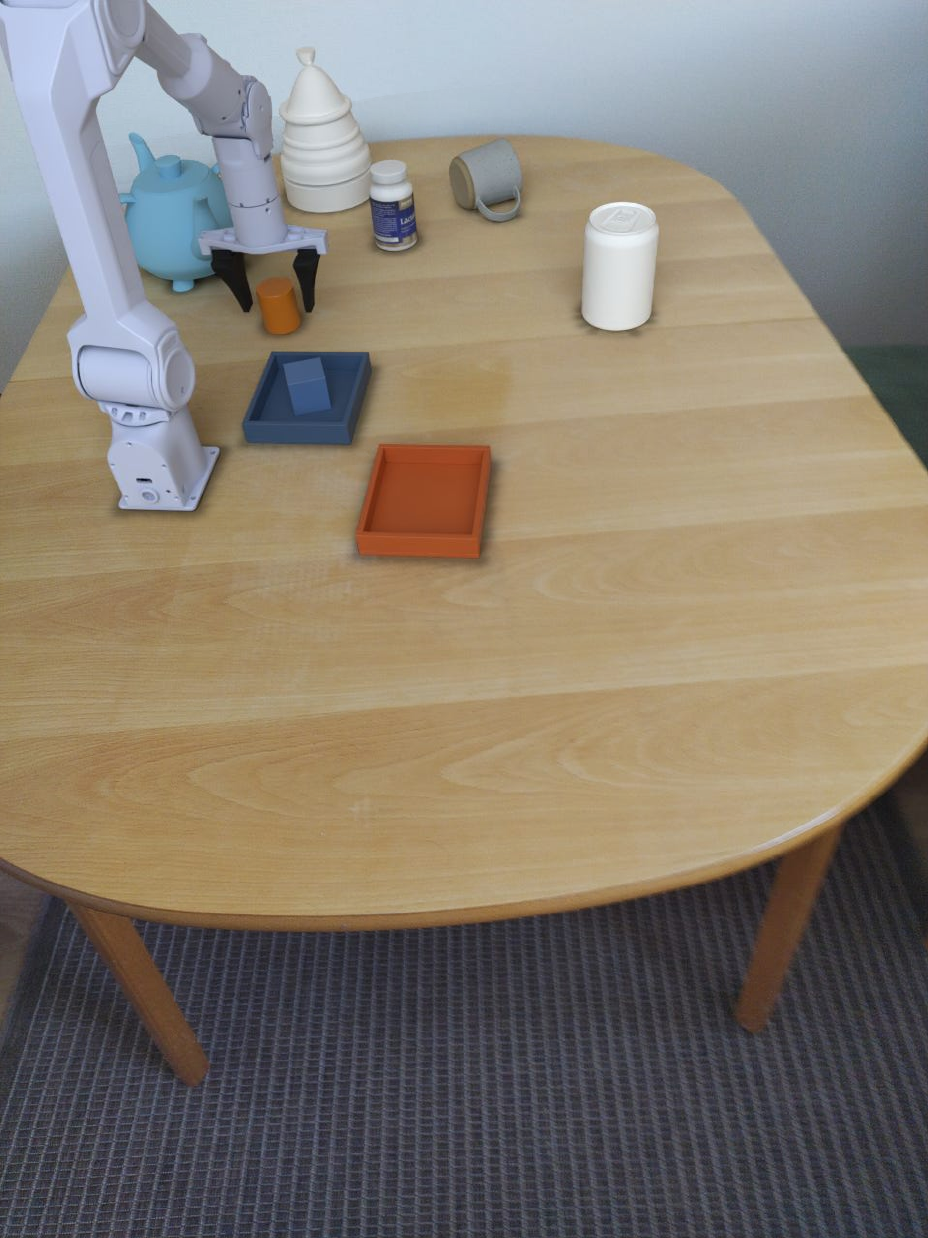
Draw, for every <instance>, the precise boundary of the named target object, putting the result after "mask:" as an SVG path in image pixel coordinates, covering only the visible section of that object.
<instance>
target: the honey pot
mask: <svg viewBox="0 0 928 1238" xmlns="http://www.w3.org/2000/svg"><path fill="white" fill-rule="evenodd" d="M295 56H296V58H297V59H298V62H299V63H300V64H301V65H302V66H304V67H303V68H302V69H301V70H300V71H299V72H298V74H297V76H296V78H295V80H294V82H293V85H292V88H291V91H290V95H289V97H288V98H287V99H286V100H284V101H283V102H282V103H281V104H280V105H279V108H278V114H279V117H280V118H281V120H283V121H284V130H283V131H282V143H281V149H282V152H281V155H280V161H279V162H280V168H281V174H282V178H283V183H284V188H285V194H286V198H287V202H288V203H289V204H290V205H291V206H293V207H294V208H296V209H298V210H301V211H305V212H309V213H335V212H341V211H345V210H348V209H352V208H354V207H358V206H359V205H361V204H363V203H364V202H366V201H367V200H370V197H369V189H370V186H371V185H372V183H373V181H372V179H371V175H370V167H371V166H372V165H373V163H372V157H371V156H372V155H371V150H370V147H369V144H368V143H367V142H366V141H365V138H364V135H363V133H362V131H361V129H360V125H359V122H357V120H356V119H355V117H354V115H353V112H352V111H351V109H352V107H353V103H352V100H351V98H350V97H349V96H347V95H346V94H344V93H342V92H341V91H340V89H339V88H338V86H337V85H336V83H335V82H334V80H332V78H331V77H330V76H329V75H328V73H327V72H325V71H324V70H323V69H322V68H321V67H319V66H317V65H314V62H315V59H316V49H315V47H313V46H303V47H299V48H297V49H295Z"/></svg>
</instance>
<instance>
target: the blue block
mask: <svg viewBox="0 0 928 1238" xmlns="http://www.w3.org/2000/svg"><path fill="white" fill-rule="evenodd" d="M283 366H284V371H285V375H286V380H287V385H288V389H289V393H290V397H291V401H292V406H293V410H294V414H295V416H297V415H302V414H307V413H312V412H317V411H323V410H328V409H331V403H330V398H329V394H328V389H327V384H326V379H325V375H324V371H323V367H322V363H321V360H320V357H318V358H313V359H308V360H302V361H297V362H292V363H287V364H283Z"/></svg>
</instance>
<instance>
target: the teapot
mask: <svg viewBox="0 0 928 1238" xmlns="http://www.w3.org/2000/svg"><path fill="white" fill-rule="evenodd" d="M128 139H129V142H130V143H131V145H132V148H133V149H134V152H135V154H136V159H137V162H138V168H139V173H137V175H136V176H135V178H133V179H134V180H133V181H132V184H131V186H130V190H129V192H121V193H118V195H119V198H120V202H121V205H124V204H126V206H125V212H124V216H125V220H126V224H127V227H128V231H129V235H130V238H131V242H132V246H133V249H134V253H135V256H136V260H137V264H138V267H140V268H142V269H143V270H144V271H147V272H148V273H150V274H151V275H153V276H155V277H157V278H160V279H164V280H169V281H170V280H171V281H172V290H173V291H174V292H179V293H182V292H187V291H190V290H192V289H194V287H195V280H197V279H202V278H206V277H210V276H213V275H217V274H216V273H215V272H214V271H213V270H212V268H211V261H212V260H213V259H212V254H211V255H202V252H201V248H200V245H199V241H198V239H199V237H200V235H201V234H202V232H203V231H212V230H220V229H225V228H231V227H234V225H233V221H232V218H231V214H230V210H229V206H228V202H227V198H226V194H225V190H224V186H223V182H222V178H221V176H220V175H221V174H220V170H219V166H218V163H217V162H216V163H215V164H213V165H212V166H211V167H209V166H208V165H207V164H205V163H204V162H201V161H199V160H195V159H182V158H181V157H180V156H179V155H174V154H166V155H163V156H160V157H158V158H155V156H154V155H153V153H152V151H151V149H150V148H149V145H148V144H147V143H146V141H145V139H144V138H143V137H142V136H141V135H140V134H139V133H136V132H130V133H129V134H128Z"/></svg>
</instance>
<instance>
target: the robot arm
mask: <svg viewBox="0 0 928 1238" xmlns="http://www.w3.org/2000/svg"><path fill="white" fill-rule="evenodd" d="M0 48H1V51H2V56H3V58H4V60H5V64H6V67H7V70H8V73H9V77H10V79H11V82H12V84H13V90H14V91H13V92H14V95H15V99H16V102H17V105H18V108H19V111H20V115H21V118H22V121H23V125H24V127H25V130H26V133H27V136H28V140H29V142H30V146H31V149H32V152H33V155H34V158H35V160H36V164H37V167H38V170H39V173H40V176H41V179H42V182H43V185H44V189H45V191H46V195H47V198H48V200H49V204H50V208H51V210H52V213H53V216H54V220H55V222H56V226H57V228H58V232H59V235H60V238H61V241H62V244H63V247H64V250H65V253H66V256H67V259H68V263H69V265H70V269H71V271H72V275H73V278H74V281H75V283H76V288H77V290H78V293H79V296H80V299H81V302H82V305H83V307H84V312H83V313H82V314H81V315H80V316H79V317H78V318H76V320H75V321H74V322H73V323H72V325H71V326H70V328H69V330H68V331H67V332H66V339H67V343H68V346H69V350H70V354H71V367H70V368H71V375H72V378H73V381H74V384H75V387H76V389H77V391H78V393H80V395H81V396H82V397H83V398H85V399H86V400H89V401H91V402H92V401H93V402H96V403H97V405H98V407H99V409H100V412H101V413H105V414H107V415H108V416H109V419H110V422H111V423H110V424H111V431H112V434H111V441H110V444H109V447H108V450H107V453H106V459H107V463H108V464H107V465H108V467H109V469H110V471H111V473H112V475H113V477H114V480H115V482H116V484H117V487H118V489H119V491H120V493H121V497H120V499H119V501H118V504H117V505H118V507H119V509H121V510H143V511H144V510H147V511H181V512H183V511H185V512H187V511H188V512H191V511H194V510H196V509H197V507H198V505H199V502H200V501H201V498H202V495H203V493H204V492H205V488H206V486H207V484H208V481H209V479H210V477H211V475H212V473H213V470H214V467H215V465H216V462H217V460H218V458H219V456H220V453H221V450H220V448H219V446H202V444H201V441H200V437H199V435H198V432H197V429H196V426H195V423H194V421H193V417H192V413H191V412H190V411H191V410H190V408H189V405H188V403H189V401H190V399H191V398H192V396H193V394H194V391H195V386H196V376H197V375H196V367H195V361H194V360H193V359H194V358H193V357H192V354H191V353H190V350H189V349H188V347H186V345H185V344H184V342H183V340H182V337H181V335H180V331H179V327H178V324H177V323H176V322H175V321H174V320H172V318H171V317H169V316H168V315H167V314H166V313H164V312H163V311H161V310H160V309H159V308H158V307H156V306H155V305H153V304H152V302H150V301H149V300H148V297H147V294H146V290H145V286H144V282H143V278H142V275H141V272H140V268H139V267H140V266H139V265H138V264H137V260H136V256H135V253H134V249H133V246H132V242H131V238H130V235H129V231H128V227H127V224H126V220H125V212H124V210H123V206H122V204H121V202H120V198H119V195H118V194H119V192H118V188H117V184H116V180H115V176H114V173H113V169H112V166H111V162H110V158H109V155H108V151H107V147H106V144H105V140H104V137H103V133H102V130H101V126H100V122H99V118H98V115H97V107H98V104H99V102H100V100H101V97H102V96H105V95H106V94H108V93H109V92H111V91H113V90H115V88H116V86H117V85H118V84H119V82H120V80H121V78H122V77H123V75H124V73H125V72H126V70H127V69H128V67H129V65H130V64H131V63H132V61H133V60H134V58H137V59H138V60H139V61H141V62H143V63H144V64H146V65H147V66H149V67H150V68H152V69H154V70H155V71H156V77H157V81H158V83H159V85H160V87H161V89H162V90H163V92H164V93H165V94H166V95H168V96H169V97H170V98H172V99H173V100H174V101H176V102H177V103H178V104H180V105H181V106H182V107H184V108H185V109H186V110H187V112H188V113H189V114H190V115H191V116H192V119H193V121H194V125H195V127H196V130H197V131H198V132H199V134H200V135H204V136H206V137H209V136H210V137H211V143H212V147H213V150H214V154H215V159H216V163H218V166H219V170H220V174H219V175H220V178H221V179H222V182H223V186H224V190H225V194H226V198H227V202H228V206H229V210H230V214H231V218H232V221H233V225H234V227H231V228H225V229H220V230H212V231H203V232H202V234H201V235H200V237H199V239H198V241H199V245H200V248H201V252H202V255H211V254H212V259H213V260H212V261H211V268H212V270H213V271H214V272H215V273H216V274H215V275H217V276H218V277H219V278H220V279H221V280H222V281H223V282H224V284H225V285H226V286H227V287H228V289H229V290H230V291H231V293H232V294H233V296H234V297H235V300H237V302H238V305H239V306H240V308H241V310H242V313H244V314H245V313H247V314H249V313H250V312H251V309H252V308H253V305H254V300H253V293H252V291H251V287H250V283H249V280H248V276H247V271H246V265H245V258H244V257H245V256H244V254H248V255H266V254H267V255H268V254H272V253H285V252H286V253H288V252H290V253H293V252H296V253H297V254H296V255H295V257H294V260H293V262H292V269H293V271H294V273H295V276H296V279H297V281H298V284H299V288H300V293H301V297H302V303H303V304H302V305H303V308H304V311H305V313H306V314H311V313H313V311H314V308H315V306H316V298H315V296H316V295H315V294H316V293H315V291H316V280H317V278H316V277H317V273H318V268H319V263H320V258H321V255H327V253H328V251H329V248H330V240H329V235H328V229H319V228H318V229H317V228H316V229H315V228H309V227H304V226H299V225H295V224H294V225H293V224H288V223H287V222H286V217H285V213H284V208H283V203H282V199H281V193H280V189H279V188H280V187H279V185H278V178H277V175H276V170H275V165H274V161H273V156H272V150H273V149H274V135H273V129H272V125H273V123H272V122H273V105H272V104H273V103H272V96H271V95H270V94H269V92H268V89H267V87H266V86H265V84H264V83H263V82H261V81H259V79H258V78H256V76H254V75H250V74H249V75H247V74H240V73H239V72H238V71H237V70H236V69H235V68H234V67H232V64H231V63H230V62H229V60H227V59H225V58H222V57H221V56H220V54H219V53H217V52H216V50H214V49H213V48H211V46H209V45H208V38H206V37H205V36H204V35H203V34H202V33H200V32H187V33H180V34H178V32H176V31H175V29H174V28H173V27H172V26H171V25H170V24H169V23H168V22H167V21H166V20H165V19H164V18H163V16H161V14H160V13H159V12H158V11H157V10H156V9H155V8H154V7H153V6H152V5H151V4H150V3H149V2H148V0H0Z"/></svg>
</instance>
